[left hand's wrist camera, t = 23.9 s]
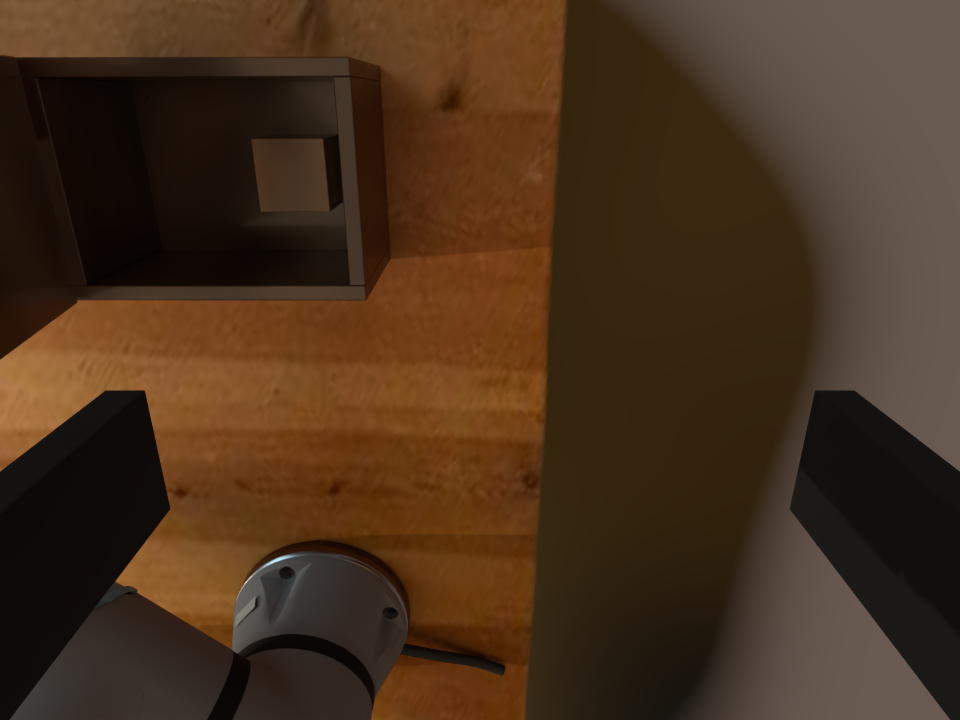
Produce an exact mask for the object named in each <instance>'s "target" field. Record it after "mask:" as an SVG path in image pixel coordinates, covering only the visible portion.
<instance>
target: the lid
mask: <svg viewBox="0 0 960 720" xmlns="http://www.w3.org/2000/svg"><path fill="white" fill-rule="evenodd" d="M76 303H77V298H76V294H75V291H74V287H73V283H72V279H71V275H70V271H69V267H68V263H67V259H66V255H65V251H64V247H63V243H62V239H61V235H60V231H59V227H58V223H57V219H56V215H55V211H54V207H53V203H52V199H51V195H50V191H49V187H48V183H47V179H46V175H45V171H44V167H43V163H42V159H41V155H40V151H39V147H38V143H37V139H36V135H35V131H34V127H33V123H32V119H31V115H30V111H29V107H28V103H27V99H26V95H25V91H24V87H23V83H22V79H21V75H20V71H19V67H18V63H17V59H16V57H12V56H4V55H0V359H2V358H3V357H4V356H6V355H7V354H9V353H10V352H11V351H13V350H14V349H15V348H17V347H18V346H19V345H21V344H22V343H23V342H25V341H26V340H27V339H29V338H30V337H31V336H33V335H34V334H36V333H37V332H38V331H40V330H41V329H42V328H44V327H45V326H46V325H48V324H49V323H50V322H52V321H53V320H54V319H56V318H57V317H58V316H60V315H61V314H63V313H64V312H65V311H67V310H68V309H69V308H71V307H72V306H73V305H75V304H76Z"/></svg>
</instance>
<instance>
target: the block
mask: <svg viewBox="0 0 960 720" xmlns="http://www.w3.org/2000/svg"><path fill="white" fill-rule="evenodd" d="M251 143H252V150H253V158H254V165H255V173H256V180H257V188H258V196H259V203H260V211H261V212H330V211H331V210H333V209H334V208H335V207H337V206H338V205H340V204H341V203H342V202H343V192H342V180H341V167H340V155H339V143H338V134H311V135H269V136H263V137H257V138H252V139H251Z"/></svg>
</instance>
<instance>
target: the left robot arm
mask: <svg viewBox="0 0 960 720" xmlns="http://www.w3.org/2000/svg"><path fill="white" fill-rule="evenodd" d="M169 510H170V505H169V501H168V496H167V491H166V487H165V482H164V478H163V473H162V468H161V464H160V459H159V454H158V450H157V445H156V440H155V436H154V431H153V426H152V422H151V417H150V412H149V408H148V403H147V399H146V394H145V391H104V392H103V393H102V394H101V395H99V396H98V397H97V398H95V399H94V400H93V401H91V402H90V403H89V404H88V405H86V406H85V407H84V408H82V409H81V410H80V411H78V412H77V413H76V414H75V415H73V416H72V417H71V418H69V419H68V420H67V421H65V422H64V423H63V424H62V425H60V426H59V427H58V428H56V429H55V430H54V431H52V432H51V433H50V434H49V435H47V436H46V437H45V438H43V439H42V440H41V441H39V442H38V443H37V444H36V445H34V446H33V447H32V448H30V449H29V450H28V451H26V452H25V453H24V454H23V455H21V456H20V457H19V458H17V459H16V460H15V461H13V462H12V463H11V464H10V465H8V466H7V467H6V468H4V469H3V470H2V471H0V720H371V716H372V710H373V705H374V699H375V696H376V695H377V693H378V691H379V689H380V688H381V686H382V684H383V683H384V681H385V679H386V678H387V676H388V674H389V672H390V671H391V669H392V667H393V666H394V664H395V662H396V661H397V659H398V657H399V655H400V654H403V655H408V656H413V657H419V658H424V659H429V660H435V661H441V662H447V663H455V664H462V665H467V666H472V667H477V668H480V669H484V670H487V671H490V672H493V673H496V674H499V675H503V674H504V672H505V666H504V665H502V664H499V663H496V662H493V661H490V660H487V659H484V658H480V657H476V656H472V655H467V654H460V653H454V652H447V651H441V650H435V649H430V648H424V647H419V646H414V645H409V644H405V643H406V639H407V633H408V627H409V619H410V607H409V602H408V598H407V595H406V592H405V590H404V588H403V586H402V584H401V583H400V581H399V580H398V578H397V577H396V576H395V575H394V574H393V572H392V571H391V570H390V569H389V568H388V567H387V566H385V565H384V564H383V563H382V562H380V561H379V560H377V559H376V558H374V557H373V556H371V555H369V554H367V553H365V552H363V551H361V550H359V549H356V548H353V547H350V546H347V545H343V544H338V543H332V542H319V541H314V542H302V543H297V544H292V545H289V546H285V547H282V548H280V549H278V550H275V551H274V552H272V553H270V554H268V555H267V556H265V557H264V558H263V559H261V560H260V561H259V562H258V563H257V564H256V565H255V566H254V567H253V568H252V570H251V571H250V573H249V574H248V576H247V578H246V580H245V582H244V584H243V586H242V588H241V590H240V592H239V594H238V596H237V599H236V603H235V608H234V623H233V641H232V650H231V649H230V648H228V647H226V646H225V645H223V644H221V643H220V642H218V641H216V640H215V639H213V638H211V637H210V636H208V635H206V634H205V633H203V632H201V631H200V630H198V629H196V628H195V627H193V626H191V625H190V624H188V623H186V622H185V621H183V620H181V619H180V618H178V617H176V616H175V615H173V614H171V613H170V612H168V611H167V610H165V609H163V608H162V607H160V606H158V605H157V604H155V603H153V602H152V601H150V600H148V599H147V598H145V597H143V596H142V595H140V594H138V593H137V589H135V588H134V587H131V586H125V587H124V586H122V585H120V584H119V583H117V582H115V581H116V580H117V578H118V577H119V576H120V574H121V573H122V572H123V570H124V569H125V568H126V566H127V565H128V564H129V562H130V561H131V560H132V559H133V557H134V556H135V555H136V553H137V552H138V551H139V549H140V548H141V547H142V545H143V544H144V543H145V541H146V540H147V539H148V538H149V536H150V535H151V534H152V532H153V531H154V530H155V528H156V527H157V526H158V524H159V523H160V522H161V520H162V519H163V518H164V517H165V515H166V514H167V513H168V511H169ZM790 510H791V511H792V513H793V514H794V515H795V517H796V518H797V519H798V520H799V522H800V523H801V524H802V526H803V527H804V528H805V530H806V531H807V532H808V534H809V535H810V536H811V538H812V539H813V540H814V541H815V543H816V544H817V545H818V547H819V548H820V549H821V551H822V552H823V553H824V555H825V556H826V557H827V559H828V560H829V561H830V562H831V564H832V565H833V566H834V568H835V569H836V570H837V572H838V573H839V574H840V576H841V577H842V578H843V580H844V581H845V582H846V583H847V585H848V586H849V587H850V589H851V590H852V591H853V593H854V594H855V595H856V597H857V598H858V599H859V601H860V602H861V603H862V604H863V606H864V607H865V608H866V610H867V611H868V612H869V613H870V615H871V616H872V618H873V619H874V620H875V621H876V623H877V624H878V625H879V627H880V628H881V629H882V631H883V632H884V633H885V635H886V636H887V637H888V638H889V640H890V641H891V642H892V644H893V645H894V646H895V648H896V649H897V650H898V652H899V653H900V654H901V656H902V657H903V658H904V659H905V661H906V662H907V663H908V665H909V666H910V667H911V669H912V670H913V671H914V673H915V674H916V675H917V677H918V678H919V679H920V680H921V682H922V683H923V684H924V686H925V687H926V688H927V690H928V691H929V692H930V694H931V695H932V696H933V698H934V699H935V700H936V701H937V703H938V704H939V705H940V707H941V708H942V709H943V711H944V712H945V713H946V715H947V716H948V717H949V718H950V720H960V471H958V470H957V469H956V468H954V467H953V466H952V465H950V464H949V463H948V462H947V461H945V460H944V459H943V458H941V457H940V456H939V455H937V454H936V453H935V452H934V451H932V450H931V449H930V448H928V447H927V446H926V445H924V444H923V443H922V442H920V441H919V440H918V439H917V438H915V437H914V436H913V435H911V434H910V433H909V432H908V431H906V430H905V429H904V428H902V427H901V426H900V425H898V424H897V423H896V422H894V421H893V420H892V419H891V418H889V417H888V416H887V415H885V414H884V413H883V412H882V411H880V410H879V409H878V408H876V407H875V406H874V405H872V404H871V403H870V402H869V401H867V400H866V399H865V398H863V397H862V396H861V395H859V394H858V393H857V392H856V391H815V394H814V399H813V403H812V408H811V413H810V417H809V422H808V426H807V431H806V436H805V440H804V445H803V450H802V455H801V459H800V464H799V468H798V473H797V478H796V482H795V487H794V491H793V496H792V501H791V505H790Z"/></svg>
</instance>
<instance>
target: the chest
mask: <svg viewBox="0 0 960 720" xmlns="http://www.w3.org/2000/svg"><path fill="white" fill-rule="evenodd" d="M16 59H17V63H18V67H19V71H20V75H21V79H22V83H23V87H24V91H25V95H26V99H27V103H28V107H29V111H30V115H31V119H32V123H33V127H34V131H35V135H36V139H37V143H38V147H39V151H40V155H41V159H42V163H43V167H44V171H45V175H46V179H47V183H48V187H49V191H50V195H51V199H52V203H53V207H54V211H55V215H56V219H57V223H58V227H59V231H60V235H61V239H62V243H63V247H64V251H65V255H66V259H67V263H68V267H69V271H70V275H71V279H72V283H73V287H74V291H75V294H76V298H77V300H367V298H368V296H369V295H370V293H371V291H372V290H373V288H374V286H375V284H376V283H377V281H378V279H379V278H380V276H381V274H382V272H383V271H384V269H385V267H386V265H387V264H388V262H389V261H390V242H389V224H388V206H387V187H386V169H385V151H384V133H383V115H382V97H381V79H380V66H377V65H373V64H370V63H367V62H363V61H360V60H357V59H353V58H350V57H16ZM311 134H338V143H339V155H340V167H341V180H342V192H343V202H342V203H341V204H340V205H338V206H337V207H335V208H334V209H333V210H331V211H330V212H261V211H260V203H259V196H258V188H257V180H256V173H255V165H254V158H253V150H252V143H251V139H252V138H257V137H263V136H269V135H311Z"/></svg>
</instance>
